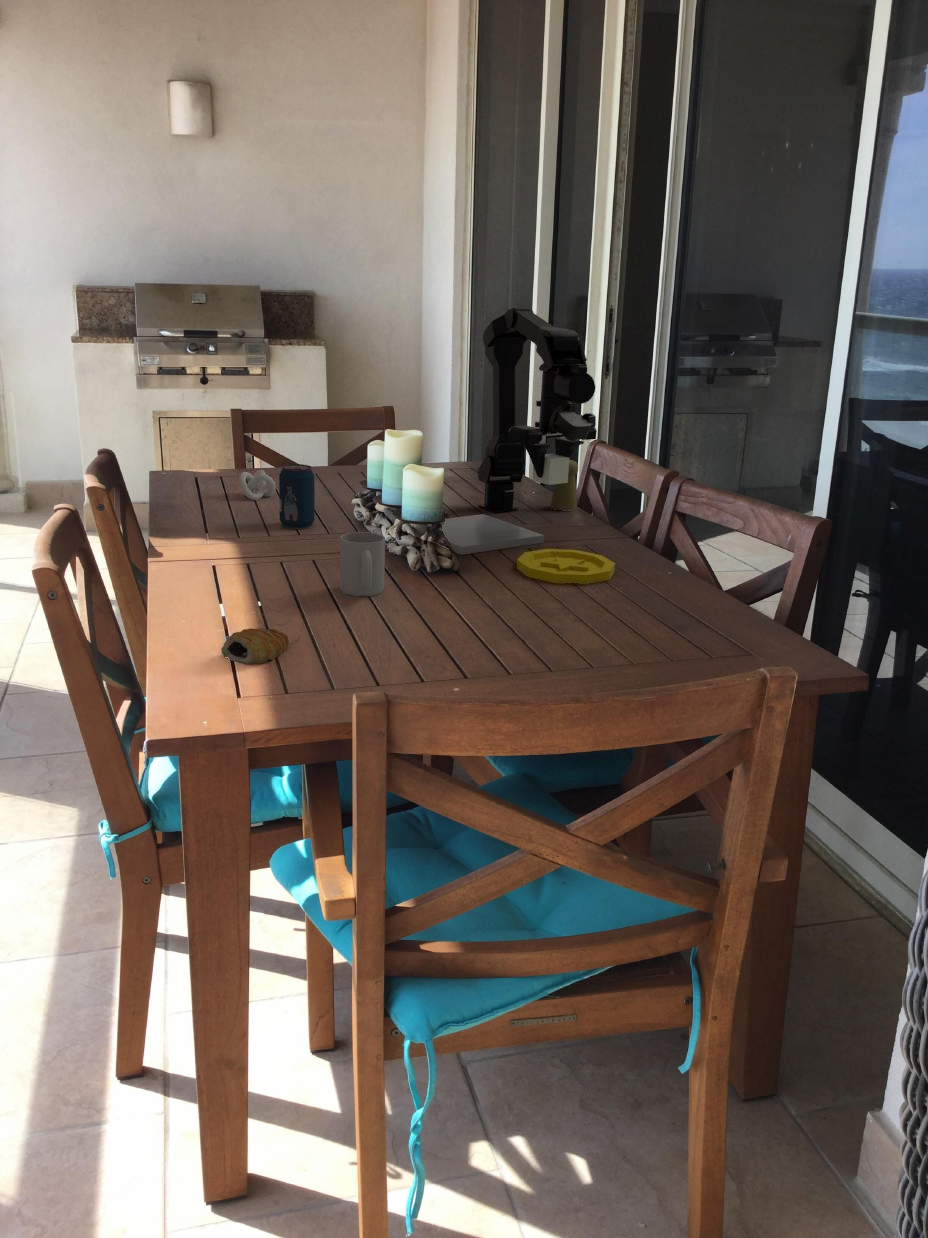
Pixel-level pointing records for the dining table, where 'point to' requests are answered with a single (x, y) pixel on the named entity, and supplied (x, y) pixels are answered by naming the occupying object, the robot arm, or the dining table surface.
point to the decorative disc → (565, 566)
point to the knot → (256, 485)
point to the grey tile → (486, 534)
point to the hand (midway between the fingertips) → (550, 476)
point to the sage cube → (553, 470)
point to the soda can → (296, 496)
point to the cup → (362, 563)
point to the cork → (566, 491)
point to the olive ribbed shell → (255, 645)
